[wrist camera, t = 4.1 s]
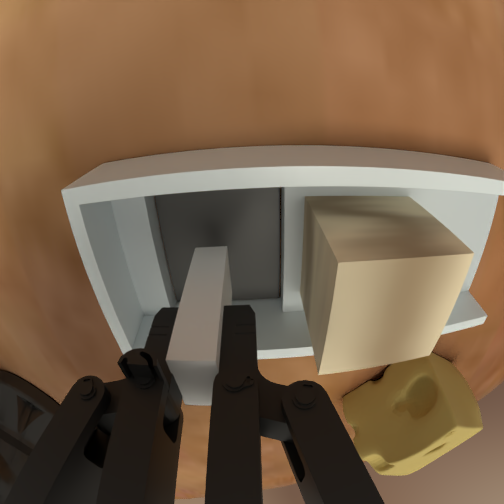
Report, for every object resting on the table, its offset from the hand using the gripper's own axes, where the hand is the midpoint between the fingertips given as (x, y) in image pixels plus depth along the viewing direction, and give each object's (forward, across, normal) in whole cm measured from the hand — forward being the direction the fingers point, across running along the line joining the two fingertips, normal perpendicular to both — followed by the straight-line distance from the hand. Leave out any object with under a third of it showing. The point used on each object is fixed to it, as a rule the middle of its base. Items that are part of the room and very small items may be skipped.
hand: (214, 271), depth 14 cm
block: (+2, +8, 0) cm, 8 cm away
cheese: (+4, +18, -18) cm, 25 cm away
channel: (+3, +7, 0) cm, 7 cm away
